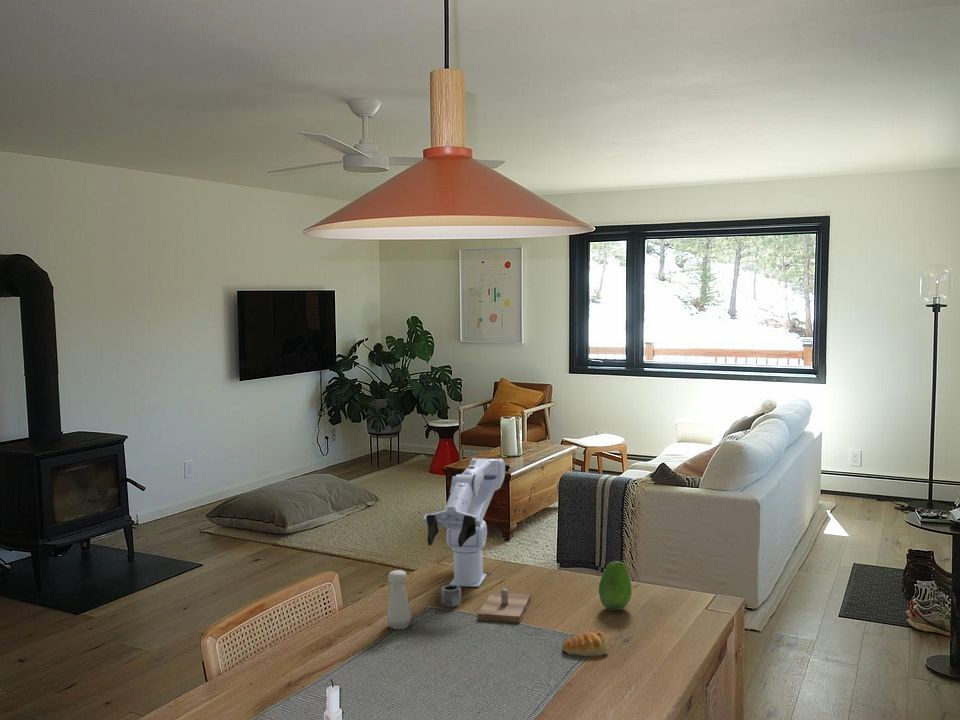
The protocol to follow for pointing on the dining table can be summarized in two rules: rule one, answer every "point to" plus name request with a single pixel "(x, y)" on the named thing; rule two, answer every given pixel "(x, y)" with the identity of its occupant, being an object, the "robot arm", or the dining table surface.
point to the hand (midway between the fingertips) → (444, 542)
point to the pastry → (586, 644)
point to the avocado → (615, 586)
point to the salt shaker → (398, 601)
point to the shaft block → (504, 607)
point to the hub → (451, 595)
